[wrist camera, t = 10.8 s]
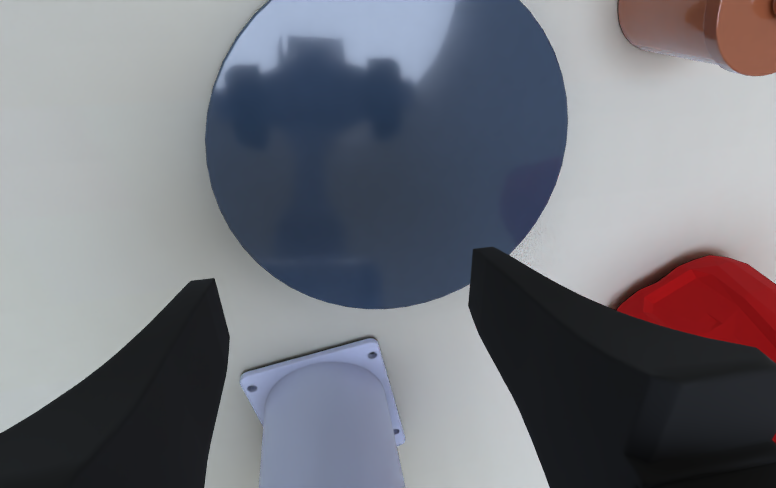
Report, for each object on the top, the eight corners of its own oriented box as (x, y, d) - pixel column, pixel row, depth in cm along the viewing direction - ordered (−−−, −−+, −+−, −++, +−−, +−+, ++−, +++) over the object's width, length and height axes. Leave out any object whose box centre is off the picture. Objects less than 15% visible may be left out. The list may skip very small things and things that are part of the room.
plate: (558, 255, 26) (567, 264, 25) (278, 330, 25) (278, 343, 24) (557, -92, 17) (570, -96, 16) (137, 5, 17) (129, 6, 16)
